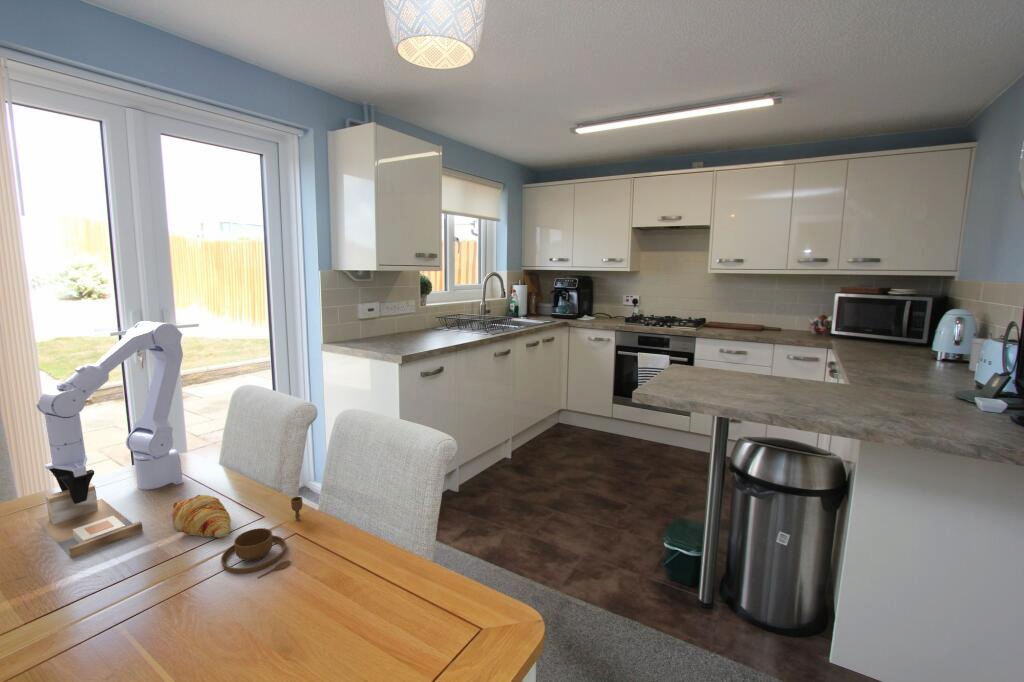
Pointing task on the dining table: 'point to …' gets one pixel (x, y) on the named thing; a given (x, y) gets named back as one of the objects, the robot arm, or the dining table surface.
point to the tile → (97, 529)
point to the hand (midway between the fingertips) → (74, 497)
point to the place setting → (259, 546)
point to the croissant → (201, 516)
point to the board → (65, 529)
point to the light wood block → (70, 505)
